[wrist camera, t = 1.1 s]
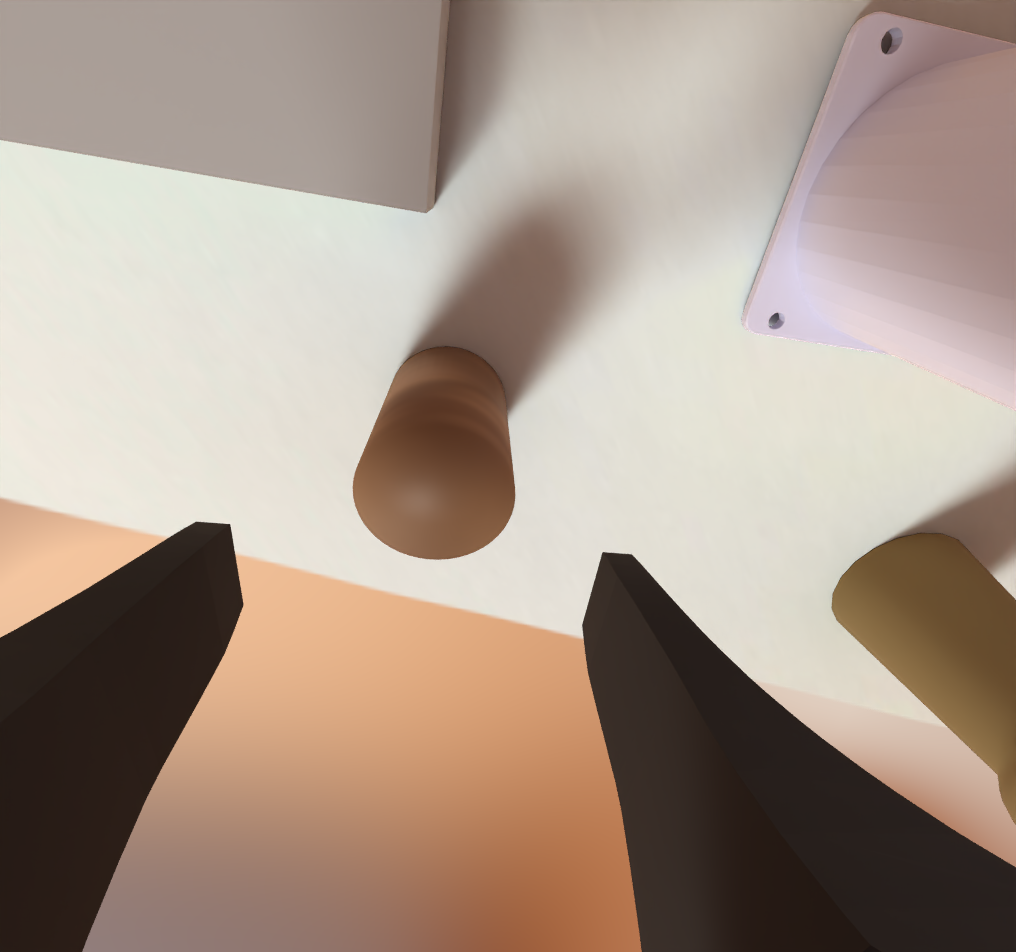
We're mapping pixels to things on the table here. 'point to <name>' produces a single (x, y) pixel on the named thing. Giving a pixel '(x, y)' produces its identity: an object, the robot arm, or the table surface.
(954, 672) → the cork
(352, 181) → the socket block
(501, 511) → the wooden peg
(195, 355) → the table surface
